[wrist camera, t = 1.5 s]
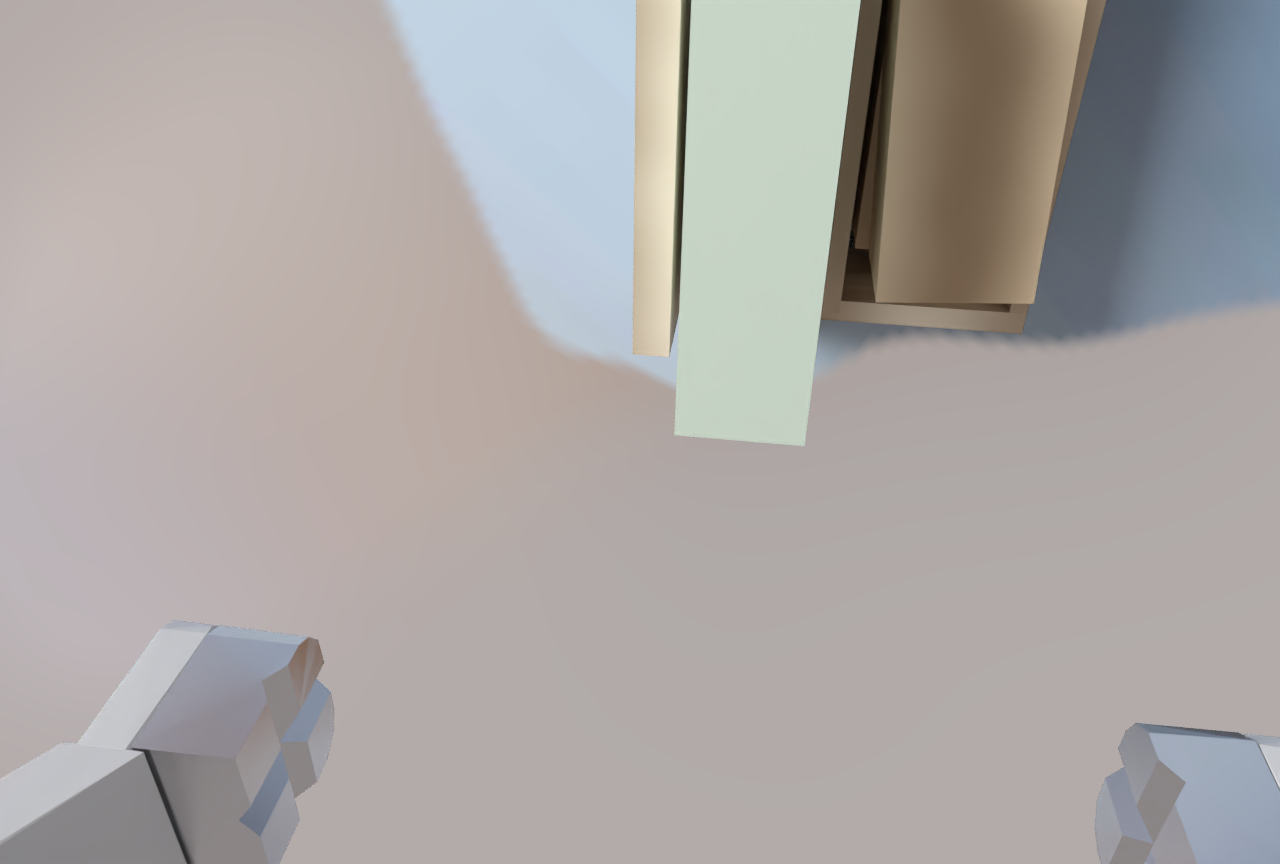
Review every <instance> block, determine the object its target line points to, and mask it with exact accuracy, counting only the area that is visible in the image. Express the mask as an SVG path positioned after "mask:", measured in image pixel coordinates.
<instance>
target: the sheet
mask: <svg viewBox="0 0 1280 864" xmlns="http://www.w3.org/2000/svg"><path fill="white" fill-rule="evenodd" d="M860 2H861V0H691V20H690V46H689V72H688V98H687V124H686V150H685V175H684V201H683V227H682V253H681V279H680V305H679V331H678V356H677V382H676V408H675V411H676V412H675V435H681V436H693V437H704V438H717V439H728V440H741V441H752V442H763V443H775V444H776V443H777V444H787V445H799V446H804V445H805V436H806V429H807V421H808V413H809V405H810V398H811V390H812V382H813V374H814V366H815V358H816V350H817V342H818V334H819V326H820V318H821V311H822V303H823V295H824V287H825V279H826V271H827V263H828V255H829V247H830V239H831V231H832V223H833V216H834V208H835V200H836V192H837V184H838V176H839V168H840V160H841V152H842V144H843V136H844V128H845V120H846V113H847V105H848V97H849V89H850V81H851V73H852V65H853V57H854V49H855V41H856V33H857V25H858V18H859V10H860Z"/></svg>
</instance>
